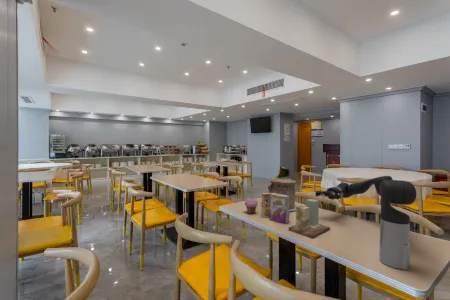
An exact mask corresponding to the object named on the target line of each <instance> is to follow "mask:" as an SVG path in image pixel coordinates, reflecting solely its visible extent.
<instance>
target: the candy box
mask: <svg viewBox="0 0 450 300" xmlns="http://www.w3.org/2000/svg"><path fill="white" fill-rule="evenodd" d="M270 194H273V193H269V192H261V203H262V204H261V217H262V218H270Z"/></svg>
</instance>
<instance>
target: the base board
mask: <svg viewBox="0 0 450 300" xmlns="http://www.w3.org/2000/svg"><path fill="white" fill-rule="evenodd" d="M309 212H310V207H306V205H302V204H301V205H298V206H297V207H296V210H295V224H294V225H292V226H289V227H288V231H291V232H293V233H295V234H298V235H301V236H304V237H306V238H309V239H311V240H312V239H315V238H317V237H319V236H321V235H322V234H325V233H326V232H328V231H330V230H331V226H327V225H324V224H320V223H318V225H317V226H315V227H313V226H309Z"/></svg>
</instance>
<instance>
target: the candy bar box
mask: <svg viewBox="0 0 450 300" xmlns="http://www.w3.org/2000/svg"><path fill="white" fill-rule="evenodd" d="M289 208H290V196H287V195H281V194H276V193H273V194H270V217H269V220H270V221H274V222H276V223H277V222H278V223H281V224H284V225H287V224H289V223H290V211H289Z"/></svg>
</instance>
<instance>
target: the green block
mask: <svg viewBox="0 0 450 300" xmlns="http://www.w3.org/2000/svg"><path fill="white" fill-rule="evenodd" d="M319 201H320V200H318V199H314V198H309V199H306V200H305V206H306V207H310V212H309V226H313V227H315V226H317V225H318V224H319V210H320V209H319V208H320V202H319Z"/></svg>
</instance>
